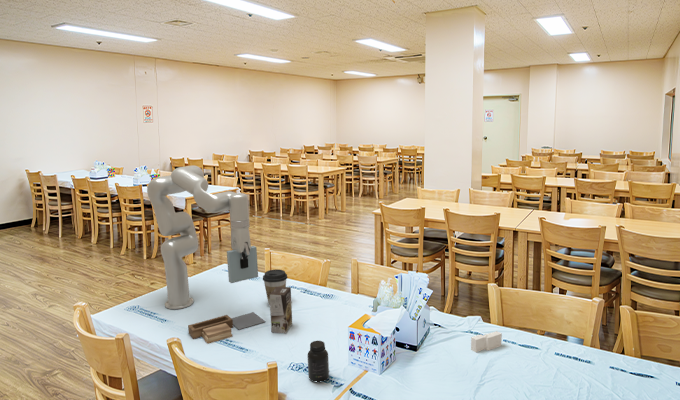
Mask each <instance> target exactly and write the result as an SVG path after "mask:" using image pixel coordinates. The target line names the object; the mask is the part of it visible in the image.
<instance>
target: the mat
mask: <svg viewBox="0 0 680 400" xmlns="http://www.w3.org/2000/svg"><path fill="white" fill-rule="evenodd" d="M230 318H231V319H232V320H233V328H234V327H235V329H236V330H237V331H241V330H245V329H249V328H252V327H255V326H258V325H262V324H265V323H266V322H267V321H266V320H264V318H262V317H260V315H258V314H257V313H255V312H254V311H252V312H249V313H248V312H247V313H245V314H240V315H239V316H238V315H237V316H235V317H230Z"/></svg>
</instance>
